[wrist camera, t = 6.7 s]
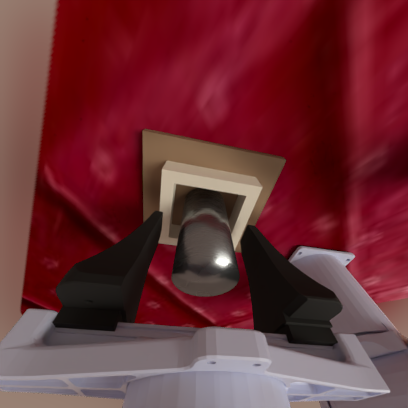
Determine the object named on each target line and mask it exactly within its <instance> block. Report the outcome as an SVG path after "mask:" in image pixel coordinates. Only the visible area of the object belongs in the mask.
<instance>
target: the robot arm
mask: <svg viewBox="0 0 408 408" xmlns="http://www.w3.org/2000/svg"><path fill="white" fill-rule="evenodd" d="M162 219H163V212H161V211H154V212H153V213H152V214H151V215H150V217H149V218H148V219H147V220H146V221H145V222H144V223H143V224H141V225H140V226H139V227H138V228H137V229H136V230H135V231H133V232H132V233H131V234H130V235H128V236H127V237H126V238H124V239H123V240H121V241H120V242H118V243H117V244H115V245H113V246H112V247H110V248H108V249H106V250H105V251H103V252H101V253H99V254H97V255H95V256H93V257H90V258H88V259H86V260H83V261H81V262H79V263H76V264H75V265H74V266H73V267H72V268H71V269H70V270H69V271H68V273H67V274H66V275H65V276H64V278H63V279H62V280H61V282H60V283H59V284H58V286H57V287H56V293H57V296H58V298H59V299H60V301H61V303H62V305H63V307H62V308H61V310H60V311H59V313H58V312H56V311H54V310H45V309H32V308H30V309H27V311H26V312H25V313H24V314H23V315H22V317H21V318H20V319H19V320H18V322H17V323H16V324H15V325H14V326H13V328H12V329H11V330H10V331H9V333H8V334H7V335H6V336H5V338H4V339H3V340H2V341H1V342H0V391H4V392H6V391H7V392H30V393H49V394H62V395H74V396H86V397H98V398H111V399H123V400H124V403H123V406H122V408H291V407H290V403H289V402H297V401H319V403H320V406H321V408H408V338H406V337H404V336H402V335H401V333H400V332H399V331H398V330H397V329H396V327H395V326H394V325H393V324H392V323H391V321H390V320H389V319H388V318H387V317H386V316H385V314H384V313H383V312H382V311H381V309H379V307H378V306H377V305H376V303H375V302H374V301H373V300H372V299H371V297H370V296H369V295H368V294H367V293H366V291H365V290H364V289H363V288H362V287H361V285H360V284H359V283H358V282H357V281H356V279H355V278H354V277H353V276H352V275H351V274H350V272H349V271H348V270H347V269H346V268H345V266H346V265H347V264H348V263H349V262H350V261H351V260H352V259H353V258H354V257H355V256H354V254H353V253H348V252H341V251H333V250H326V249H319V248H312V247H305V246H299V247H298V248H297V249H296V250H295V252H294V253H293V254H292V256H291V257H290V258H289V260H287V259H286V258H285V257H284V256H282V255H281V254H280V253H279V252H278V251H277V250H276V249H275V248H274V247H273V246H272V245H271V244H270V242H269V241H268V240H267V239H266V238H265V237H264V236H263V235H262V233H261V232H260V231H259V230H258V229H257V228H256V227H255V226H254V225H247V227H246V229H245V231H244V234H243V236H242V238H241V240H240V245H241V253H242V257H243V261H244V265H245V268H246V272H247V276H248V281H249V287H250V293H251V301H252V310H253V321H254V330H251V329H238V328H225V327H205V328H191V327H177V326H164V325H150V324H137V323H134V322H135V318H136V314H137V310H138V306H139V302H140V298H141V294H142V290H143V287H144V283H145V279H146V276H147V272H148V269H149V266H150V263H151V261H152V258H153V255H154V253H155V250H156V248H157V245H158V242H159V239H160V235H161V231H162Z"/></svg>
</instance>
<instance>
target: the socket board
mask: <svg viewBox="0 0 408 408" xmlns="http://www.w3.org/2000/svg"><path fill="white" fill-rule="evenodd" d="M285 162H286V159H285V158H283V157H280V156H275V155H271V154H266V153H261V152H256V151H251V150H246V149H241V148H236V147H232V146H227V145H222V144H217V143H212V142H207V141H202V140H198V139H193V138H188V137H183V136H178V135H173V134H168V133H163V132H159V131H154V130H149V129H144V130H143V223H144V222H145V221H146V220H147V219H148V218H149V217H150V215H151V214H152V213H153V212H154V211H161V212H163V219H162V231H161V235H160V239H159V242H158V243H161V244H168V245H176V246H177V242H178V236H179V231H180V225H181V219H182V213H183V207H184V202H185V198H186V196H187V194H188V193H189V192H190V191H192V190H193V189H195V188H204V189H210V190H215V191H219V192H220V193H221V195H222V196H223V198H224V202H225V207H226V212H227V217H228V222H229V227H230V231H231V236H232V241H233V246H234V251H235V252H241V245H240V240H241V238H242V236H243V234H244V231H245V229H246V227H247V225H254V226H255V224H256V222H257V220H258V218H259V216H260V214H261V212H262V210H263V208H264V206H265V204H266V201H267V199H268V197H269V195H270V193H271V191H272V189H273V187H274V185H275V183H276V181H277V179H278V177H279V175H280V172H281V170H282V168H283V166H284V164H285Z"/></svg>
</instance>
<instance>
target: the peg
mask: <svg viewBox="0 0 408 408" xmlns="http://www.w3.org/2000/svg"><path fill="white" fill-rule="evenodd" d="M172 281H173V283H174V285H175V286H176V287H177V288H178V289H179V290H181V291H183V292H185V293H187V294H190V295H195V296H215V295H220V294H223V293H225V292H228V291H229V290H231V289H232V288H234V287H235V286H236V284H237V283H238V281H239V270H238V265H237V261H236V256H235V251H234V246H233V241H232V236H231V231H230V227H229V222H228V217H227V212H226V207H225V202H224V198H223V196H222V195H221V193H220V192H219V191H215V190H210V189H204V188H195V189H193V190H192V191H190V192H189V193H188V194H187V196H186V198H185V202H184V207H183V213H182V219H181V225H180V231H179V236H178V242H177V248H176V254H175V259H174V265H173V271H172Z"/></svg>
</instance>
